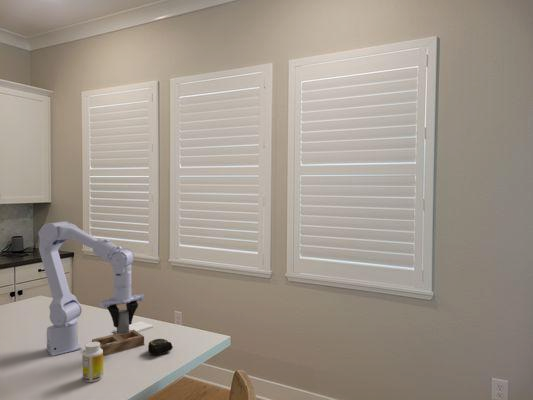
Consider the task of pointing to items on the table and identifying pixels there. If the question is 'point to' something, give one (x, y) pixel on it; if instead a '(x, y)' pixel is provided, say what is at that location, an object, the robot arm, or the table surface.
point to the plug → (123, 322)
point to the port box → (120, 342)
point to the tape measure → (159, 346)
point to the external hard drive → (138, 327)
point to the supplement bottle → (92, 362)
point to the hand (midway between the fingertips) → (122, 325)
